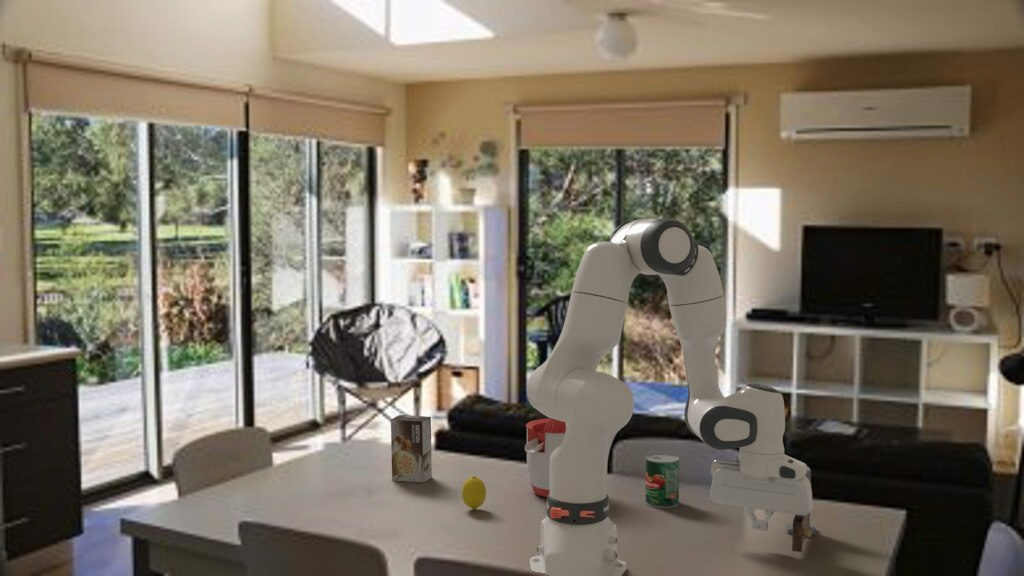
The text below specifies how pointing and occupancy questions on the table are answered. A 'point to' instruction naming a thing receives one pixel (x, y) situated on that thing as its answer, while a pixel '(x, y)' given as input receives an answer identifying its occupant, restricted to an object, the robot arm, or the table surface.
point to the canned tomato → (662, 480)
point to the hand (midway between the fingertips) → (759, 529)
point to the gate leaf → (800, 532)
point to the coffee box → (411, 448)
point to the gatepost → (810, 527)
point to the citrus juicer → (542, 451)
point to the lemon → (473, 492)
